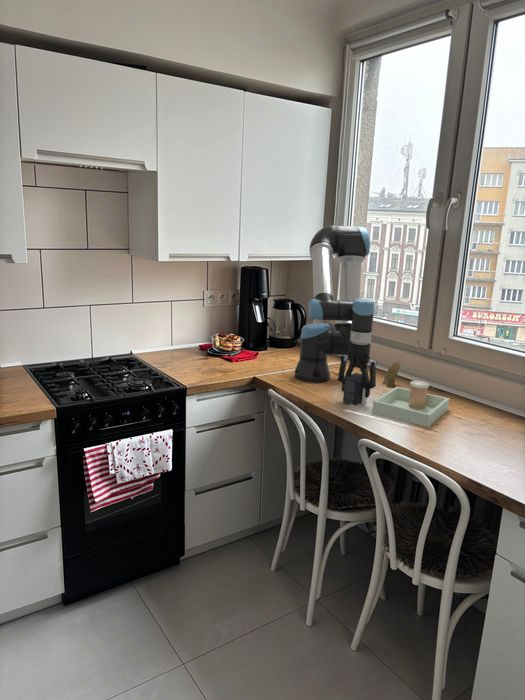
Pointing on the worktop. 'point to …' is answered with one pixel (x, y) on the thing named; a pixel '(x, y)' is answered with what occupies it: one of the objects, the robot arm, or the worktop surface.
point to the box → (353, 389)
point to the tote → (398, 407)
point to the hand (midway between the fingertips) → (354, 402)
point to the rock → (391, 375)
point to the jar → (418, 394)
